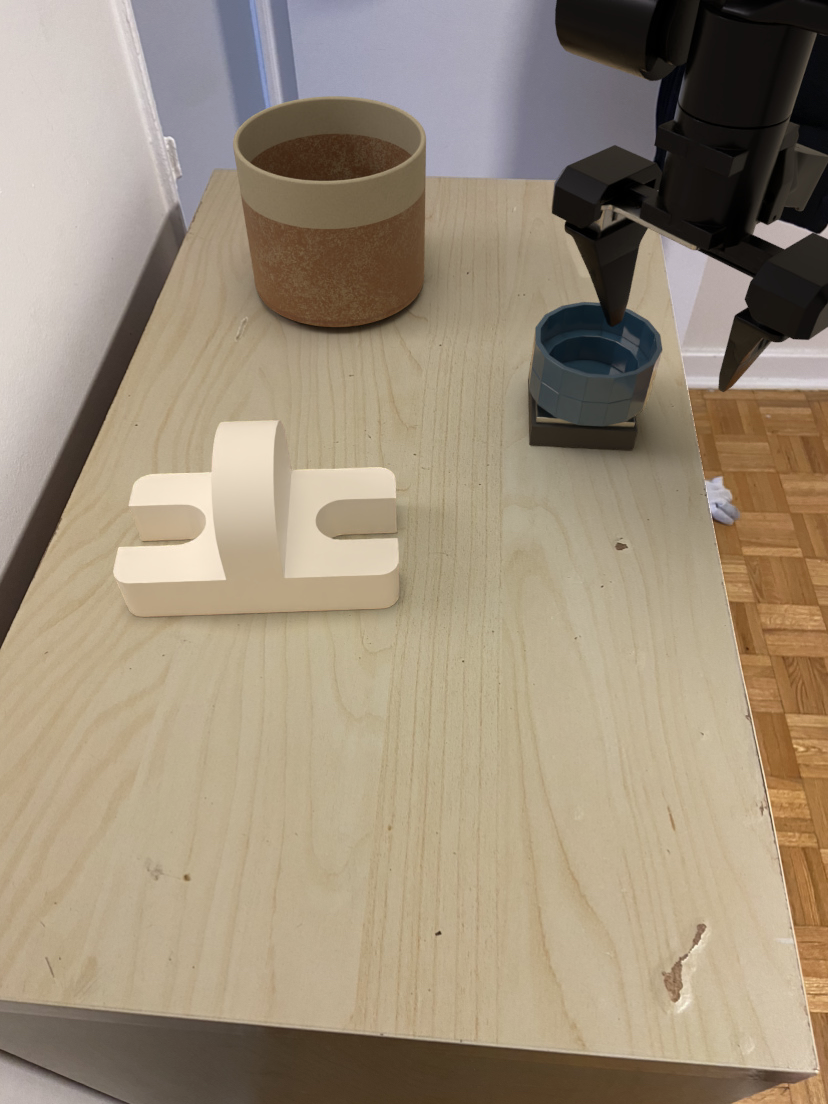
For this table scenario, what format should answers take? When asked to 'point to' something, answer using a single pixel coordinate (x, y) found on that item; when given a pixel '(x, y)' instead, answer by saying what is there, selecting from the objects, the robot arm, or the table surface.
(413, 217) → the planter
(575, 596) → the table surface
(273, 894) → the table surface
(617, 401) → the bowl
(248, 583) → the slotted base with upright
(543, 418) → the scale
